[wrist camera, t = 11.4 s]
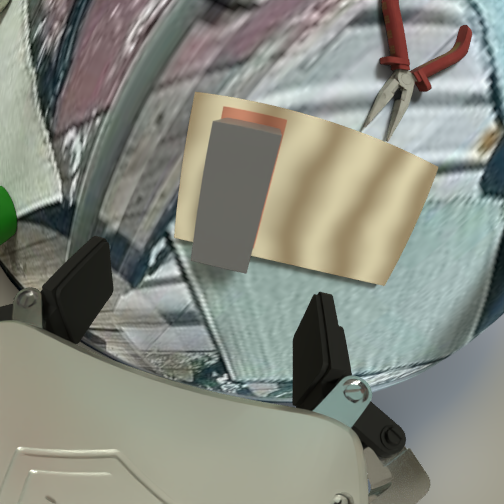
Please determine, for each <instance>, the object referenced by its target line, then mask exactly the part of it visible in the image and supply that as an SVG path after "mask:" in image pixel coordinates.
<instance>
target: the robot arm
mask: <svg viewBox="0 0 504 504" xmlns="http://www.w3.org/2000/svg"><path fill="white" fill-rule="evenodd" d="M42 288H43V289H42V291H41V292H40V291H39V290H38V289H36V288H25V289H23V290H21V291H19V292H18V294H16V296H15V298H14V302H13V304H10V305H6V306H2V307H0V504H416V503H417V502H418V501H419V500H420V499H421V498H423V497H424V496H425V495H426V493H427V492H428V491H429V488H430V479H429V477H428V475H427V473H426V472H425V471H424V469H423V467H422V466H421V464H420V463H419V462H418V460H417V458H416V457H415V455H414V454H413V452H412V451H411V449H406V447H405V442H406V437H405V433H404V431H403V430H402V428H401V427H400V426H399V425H397V424H396V423H395V422H394V421H393V420H392V419H390V418H389V417H388V416H387V415H386V414H385V413H383V412H382V411H381V410H380V409H379V408H378V407H376V406H375V405H374V404H373V403H372V402H371V398H372V391H371V388H370V386H369V384H368V383H367V382H366V381H365V380H363V379H362V378H360V377H357V376H352V373H351V367H350V361H349V355H348V350H347V344H346V339H345V334H344V330H343V328H342V327H341V326H339V325H338V320H337V315H336V310H335V305H334V300H333V296H332V295H331V294H327V293H322V292H319V293H318V295H316V294H314V295H313V297H312V299H311V301H310V303H309V306H308V308H307V310H306V312H305V314H304V316H303V318H302V320H301V322H300V325H299V327H298V329H297V331H296V333H295V335H294V338H293V405H294V406H296V408H294V407H289V406H284V405H277V404H271V403H265V402H260V401H255V400H250V399H245V398H240V397H235V396H230V395H225V394H221V393H217V392H212V391H208V390H204V389H200V388H197V387H193V386H189V385H186V384H182V383H179V382H175V381H172V380H168V379H165V378H162V377H159V376H156V375H153V374H150V373H147V372H144V371H141V370H138V369H135V368H132V367H130V366H127V365H124V364H122V363H119V362H116V361H114V360H111V359H109V358H106V357H104V356H101V355H99V354H96V353H94V352H92V351H89V350H87V349H85V348H83V347H80V346H78V345H76V344H78V343H79V342H80V340H81V339H82V337H83V336H84V334H85V333H86V331H87V330H88V328H89V327H90V325H91V324H92V322H93V321H94V319H95V318H96V316H97V315H98V313H99V312H100V311H101V309H102V308H103V306H104V305H105V303H106V302H107V301H108V299H109V298H110V296H111V295H112V293H113V281H112V271H111V261H110V249H109V243H107V241H106V239H105V238H101V237H98V236H94V237H92V238H91V239H90V240H89V241H88V242H87V243H86V244H85V245H83V246H82V247H81V248H80V249H79V250H78V251H77V252H76V253H75V254H74V255H73V256H72V257H71V258H70V259H69V260H68V261H67V262H66V263H64V264H63V265H62V266H61V267H60V268H59V269H58V270H57V271H56V272H55V273H54V275H53V276H52V277H51V278H50V279H49V280H48V281H47V282H46V283H45V284H44V285H43V286H42ZM367 473H368V475H367ZM367 479H369V481H370V484H371V491H370V493H369V495H368V480H367Z"/></svg>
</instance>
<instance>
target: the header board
mask: <svg viewBox="0 0 504 504" xmlns="http://www.w3.org/2000/svg"><path fill="white" fill-rule="evenodd" d="M227 117H228V118H233V119H238V120H243V121H248V122H253V123H257V124H262V125H266V126H271V127H275V128H279V129H280V130H281V134H282V138H281V142H280V146H279V149H278V153H277V157H276V161H275V165H274V169H273V173H272V176H271V180H270V184H269V188H268V192H267V196H266V200H265V204H264V207H263V211H262V215H261V219H260V223H259V227H258V231H257V234H256V238H255V242H254V246H253V250H252V254H251V256H255V257H260V258H264V259H268V260H273V261H277V262H282V263H286V264H290V265H295V266H299V267H303V268H308V269H312V270H317V271H321V272H325V273H330V274H334V275H339V276H343V277H347V278H352V279H356V280H361V281H365V282H369V283H374V284H378V285H383V286H385V284H386V282H387V280H388V278H389V277H390V275H391V273H392V271H393V269H394V267H395V265H396V263H397V262H398V260H399V258H400V256H401V254H402V252H403V250H404V248H405V246H406V244H407V242H408V239H409V237H410V235H411V233H412V231H413V229H414V227H415V224H416V222H417V220H418V218H419V215H420V213H421V211H422V208H423V206H424V203H425V201H426V199H427V196H428V194H429V191H430V188H431V186H432V183H433V181H434V178H435V175H436V172H437V170H438V167H437V166H435V165H433V164H431V163H429V162H427V161H425V160H423V159H421V158H419V157H417V156H415V155H413V154H411V153H409V152H407V151H405V150H402V149H400V148H398V147H396V146H393V145H391V144H389V143H386V142H384V141H381V140H379V139H377V138H374V137H372V136H369V135H366V134H364V133H361V132H358V131H356V130H353V129H350V128H347V127H345V126H342V125H339V124H336V123H333V122H330V121H326V120H323V119H320V118H317V117H313V116H310V115H307V114H303V113H299V112H296V111H292V110H288V109H284V108H280V107H276V106H272V105H268V104H263V103H258V102H254V101H249V100H244V99H238V98H233V97H227V96H221V95H214V94H207V93H200V92H195V95H194V100H193V105H192V110H191V116H190V121H189V127H188V133H187V139H186V145H185V151H184V158H183V165H182V172H181V179H180V187H179V195H178V204H177V213H176V223H175V234H174V238H178V239H182V240H186V241H191V242H193V239H194V231H195V224H196V217H197V210H198V203H199V196H200V190H201V184H202V177H203V171H204V166H205V160H206V154H207V149H208V143H209V138H210V133H211V128H212V123H213V121H215V120H219V119H223V118H227Z"/></svg>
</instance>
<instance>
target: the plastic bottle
mask: <svg viewBox="0 0 504 504" xmlns="http://www.w3.org/2000/svg"><path fill="white" fill-rule="evenodd" d="M9 1H10V0H0V12H2V11H3V9H4V8H5V7H6V6H7V4H8V3H9Z"/></svg>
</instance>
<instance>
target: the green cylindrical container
mask: <svg viewBox="0 0 504 504" xmlns="http://www.w3.org/2000/svg"><path fill="white" fill-rule="evenodd" d="M16 228H17V218H16V212H15V208H14V205H13V202H12V200H11V198H10V196H9V194H8V192H7V191H6V190H5V189H4V188H3V187H2V186H0V245H1V244H3V243H4V242H5V241H6V240H8V239H9V238H10V237H12V236H13V235H14V234H15V232H16Z"/></svg>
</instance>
